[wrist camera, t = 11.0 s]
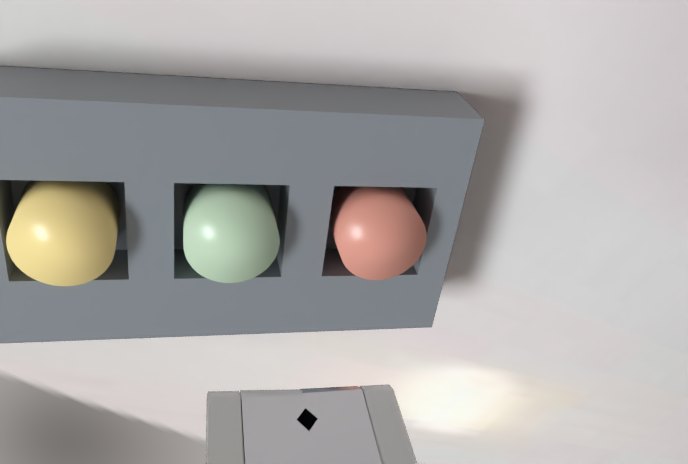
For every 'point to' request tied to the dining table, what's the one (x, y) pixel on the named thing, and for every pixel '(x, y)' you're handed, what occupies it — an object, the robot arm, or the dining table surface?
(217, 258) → the sage button
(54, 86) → the button panel
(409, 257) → the brick button
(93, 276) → the mustard button
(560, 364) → the dining table surface
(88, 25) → the dining table surface
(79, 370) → the dining table surface
